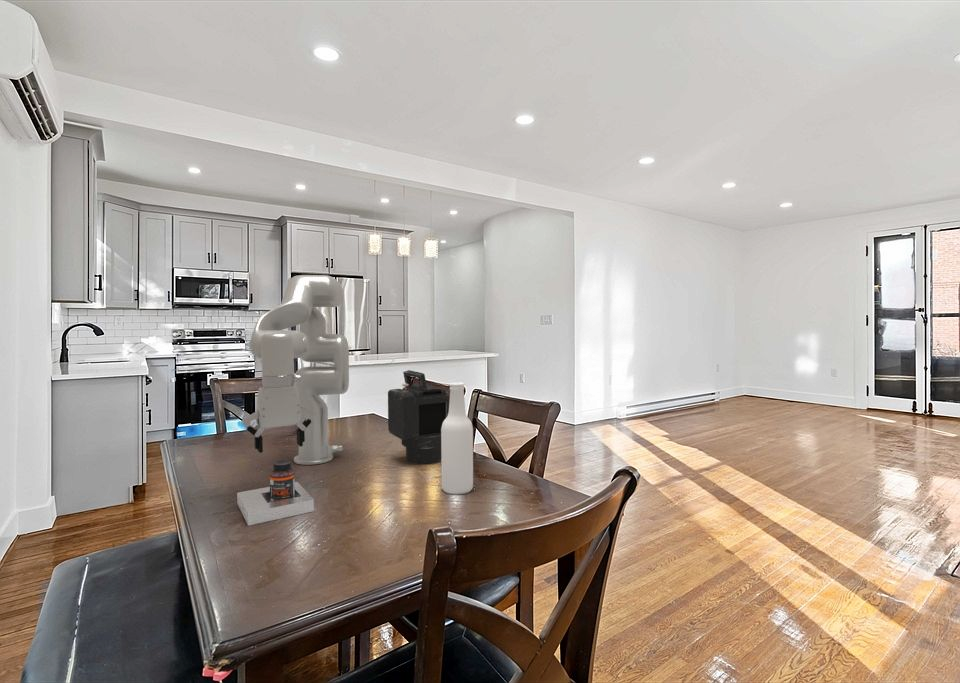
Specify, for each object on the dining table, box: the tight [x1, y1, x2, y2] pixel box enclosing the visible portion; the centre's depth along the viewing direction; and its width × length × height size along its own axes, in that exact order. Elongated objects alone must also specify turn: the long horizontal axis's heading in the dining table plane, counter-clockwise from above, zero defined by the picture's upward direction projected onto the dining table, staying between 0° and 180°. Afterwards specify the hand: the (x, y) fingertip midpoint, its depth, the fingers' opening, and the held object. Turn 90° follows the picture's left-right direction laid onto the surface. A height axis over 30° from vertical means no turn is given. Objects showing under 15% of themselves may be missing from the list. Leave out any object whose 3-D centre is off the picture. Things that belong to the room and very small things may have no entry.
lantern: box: [387, 369, 450, 465], centre depth 166 cm, size 15×18×30 cm
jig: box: [236, 481, 315, 526], centre depth 125 cm, size 15×16×3 cm
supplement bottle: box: [269, 459, 296, 502], centre depth 126 cm, size 6×6×11 cm
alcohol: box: [440, 381, 474, 496], centre depth 137 cm, size 9×9×30 cm
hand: (280, 448), depth 125 cm, fingers open, 9 cm apart
